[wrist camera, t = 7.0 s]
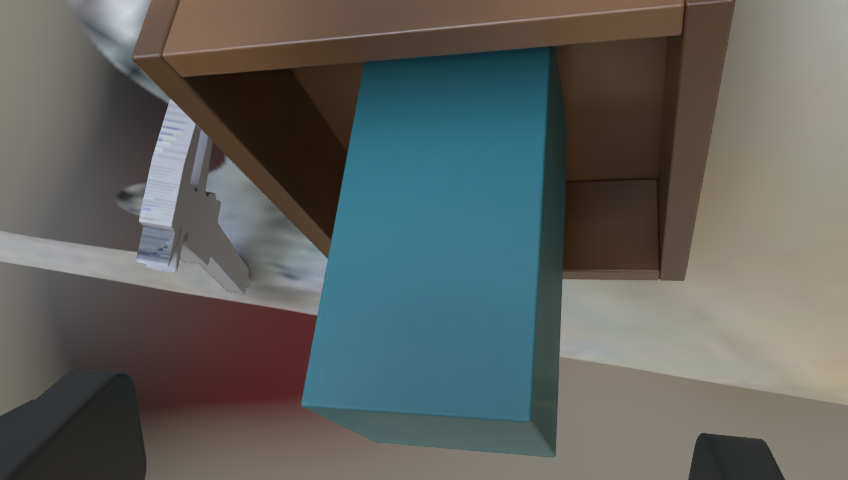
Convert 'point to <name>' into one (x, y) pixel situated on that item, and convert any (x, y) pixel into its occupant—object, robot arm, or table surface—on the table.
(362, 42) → the box
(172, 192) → the caliper
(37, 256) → the table surface
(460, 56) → the block
